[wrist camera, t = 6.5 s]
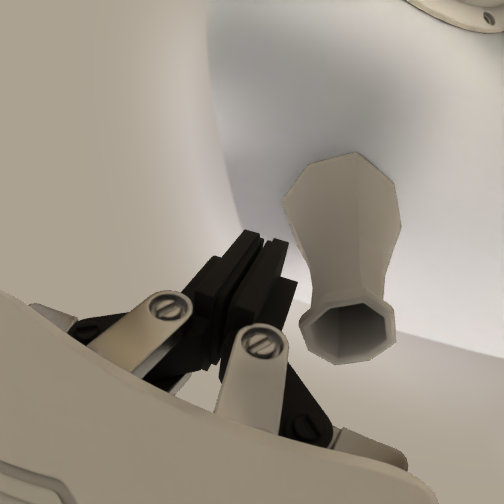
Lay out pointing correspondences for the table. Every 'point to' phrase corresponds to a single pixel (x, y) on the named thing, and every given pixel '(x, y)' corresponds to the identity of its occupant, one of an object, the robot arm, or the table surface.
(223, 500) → the robot arm
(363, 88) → the table surface
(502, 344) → the table surface
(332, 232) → the flask
